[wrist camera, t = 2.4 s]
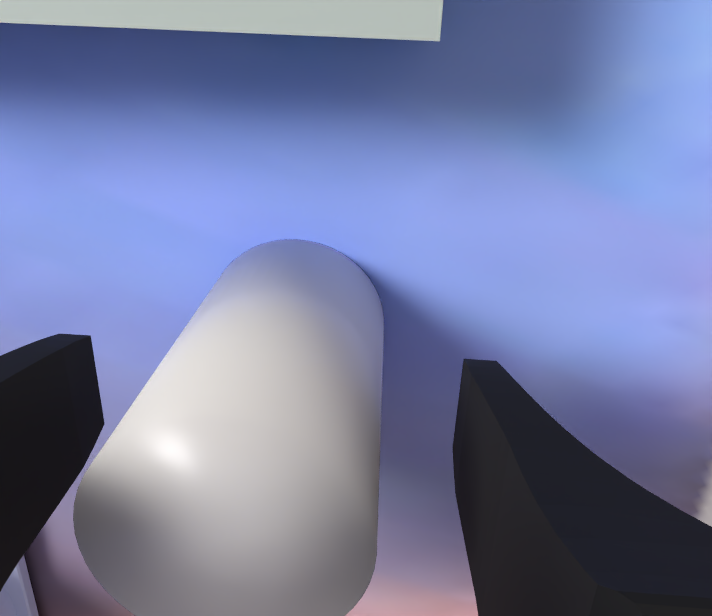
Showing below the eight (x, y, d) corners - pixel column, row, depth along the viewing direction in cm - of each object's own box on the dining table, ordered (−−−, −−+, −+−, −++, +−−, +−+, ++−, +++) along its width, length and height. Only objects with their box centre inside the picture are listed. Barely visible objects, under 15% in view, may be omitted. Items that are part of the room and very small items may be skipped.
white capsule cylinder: (379, 402, 16) (369, 658, 9) (214, 392, 16) (95, 637, 10) (389, 244, 14) (385, 427, 8) (203, 234, 14) (49, 406, 8)
